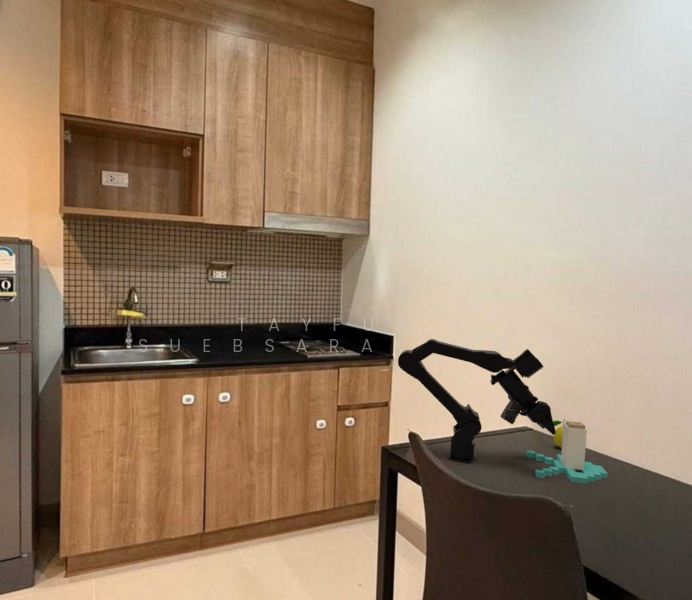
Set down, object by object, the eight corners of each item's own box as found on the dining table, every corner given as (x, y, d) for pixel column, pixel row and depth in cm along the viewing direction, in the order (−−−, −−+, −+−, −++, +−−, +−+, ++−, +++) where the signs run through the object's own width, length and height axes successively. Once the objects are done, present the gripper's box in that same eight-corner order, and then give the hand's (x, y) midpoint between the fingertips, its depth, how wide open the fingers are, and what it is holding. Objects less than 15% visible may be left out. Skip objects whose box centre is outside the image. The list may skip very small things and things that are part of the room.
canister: (565, 468, 151) (568, 424, 150) (560, 462, 156) (564, 420, 155) (583, 470, 150) (587, 426, 150) (578, 464, 155) (582, 422, 155)
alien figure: (536, 480, 146) (614, 490, 142) (536, 472, 146) (614, 482, 142) (526, 457, 166) (594, 465, 162) (526, 450, 166) (595, 458, 162)
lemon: (546, 446, 177) (549, 416, 176) (559, 445, 179) (562, 415, 179) (562, 452, 171) (565, 422, 170) (575, 451, 173) (578, 421, 173)
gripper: (487, 400, 165) (519, 441, 163) (500, 409, 146) (536, 455, 145) (515, 378, 164) (548, 419, 163) (532, 384, 146) (569, 430, 144)
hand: (549, 430), depth 154 cm, fingers open, 9 cm apart
